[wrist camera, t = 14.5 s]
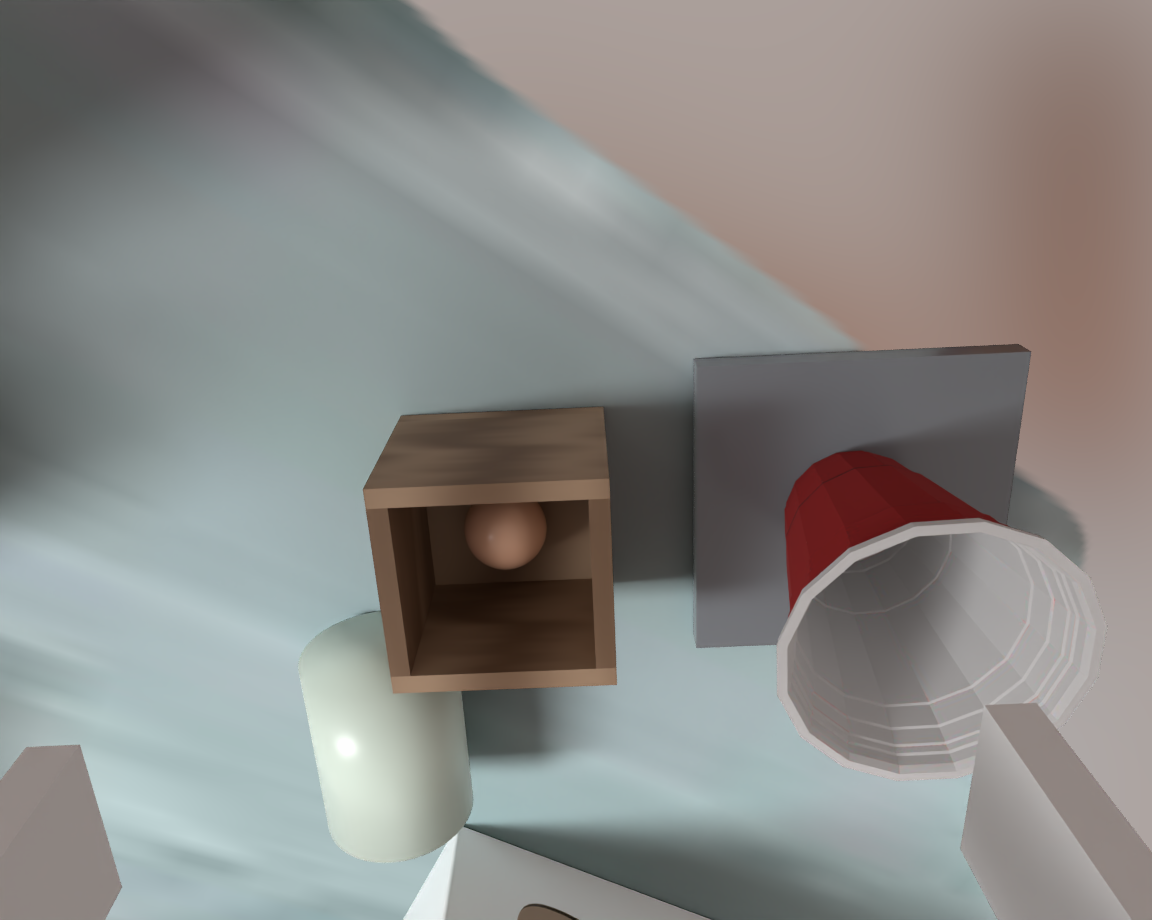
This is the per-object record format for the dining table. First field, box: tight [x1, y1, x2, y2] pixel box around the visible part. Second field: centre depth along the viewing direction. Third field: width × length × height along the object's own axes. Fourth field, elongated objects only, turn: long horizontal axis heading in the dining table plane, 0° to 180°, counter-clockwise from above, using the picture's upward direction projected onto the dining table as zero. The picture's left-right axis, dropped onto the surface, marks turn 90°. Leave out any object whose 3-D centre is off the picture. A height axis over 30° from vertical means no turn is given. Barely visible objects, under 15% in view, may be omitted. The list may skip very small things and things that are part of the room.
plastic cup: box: [777, 450, 1108, 781], centre depth 36 cm, size 11×11×12 cm
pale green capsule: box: [298, 611, 473, 863], centre depth 44 cm, size 9×7×7 cm
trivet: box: [693, 344, 1031, 648], centre depth 42 cm, size 14×14×1 cm
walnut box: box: [363, 407, 617, 694], centre depth 39 cm, size 9×9×8 cm
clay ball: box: [464, 502, 547, 570], centre depth 41 cm, size 4×4×4 cm
